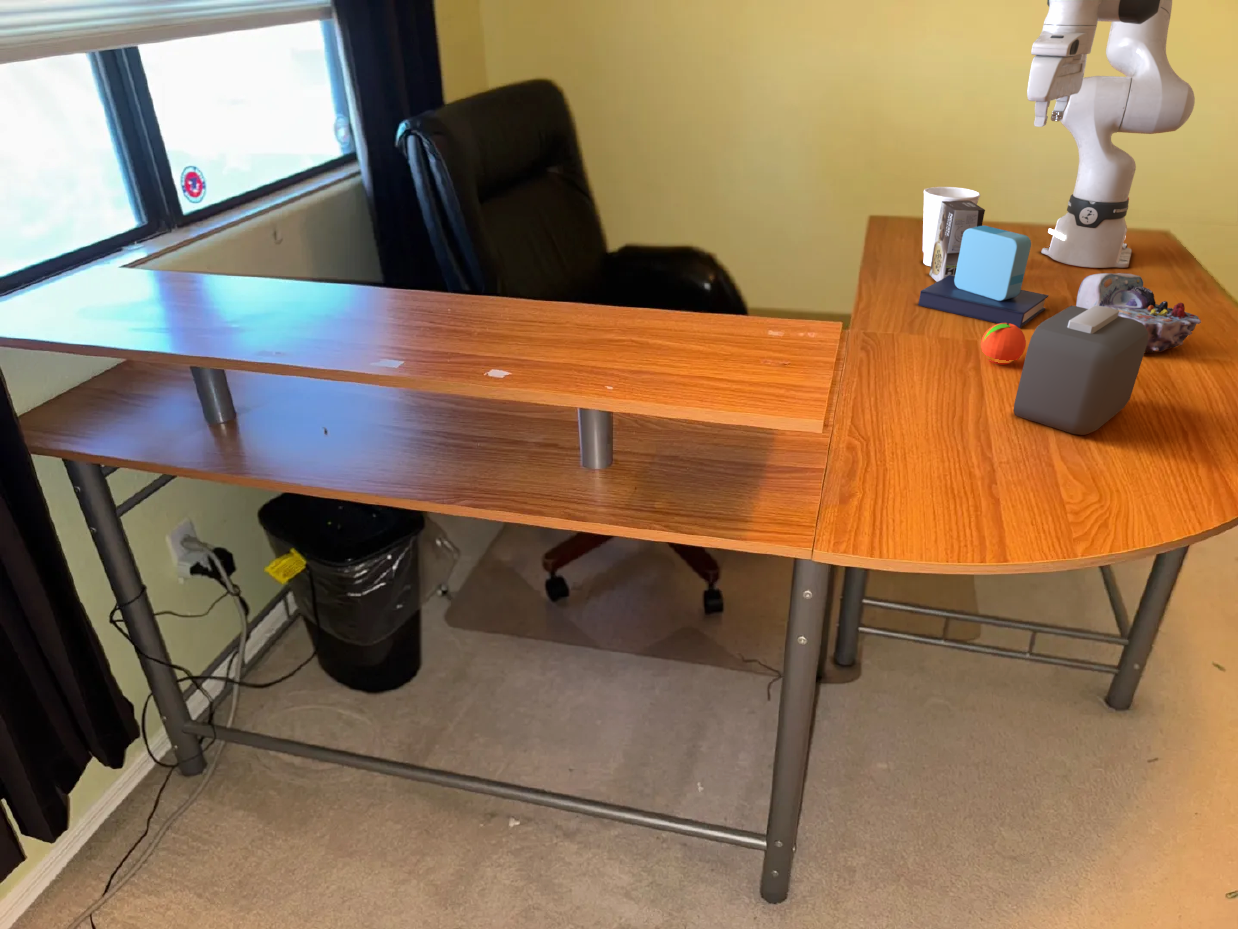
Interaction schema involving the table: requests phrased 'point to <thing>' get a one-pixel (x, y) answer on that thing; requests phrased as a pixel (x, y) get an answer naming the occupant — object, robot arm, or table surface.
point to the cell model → (1138, 308)
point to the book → (982, 303)
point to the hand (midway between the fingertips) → (1047, 123)
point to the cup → (932, 212)
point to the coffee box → (952, 235)
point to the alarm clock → (1080, 368)
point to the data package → (992, 262)
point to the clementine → (1003, 342)
